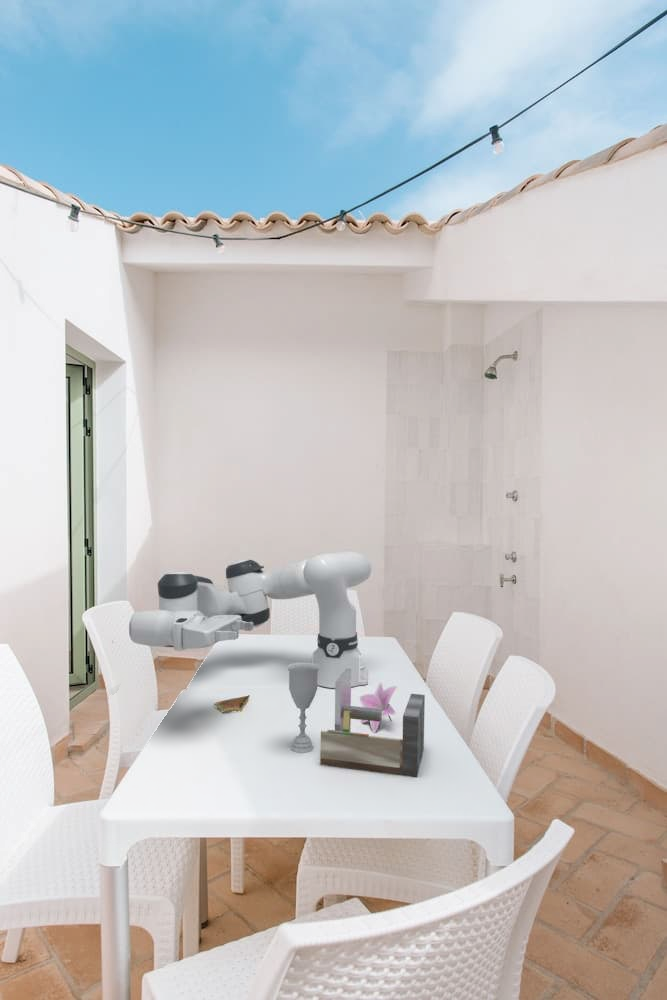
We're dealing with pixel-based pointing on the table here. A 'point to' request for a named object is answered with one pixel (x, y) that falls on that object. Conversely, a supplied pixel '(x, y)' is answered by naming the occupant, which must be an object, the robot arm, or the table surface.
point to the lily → (379, 703)
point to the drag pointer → (347, 721)
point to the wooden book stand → (379, 746)
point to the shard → (232, 704)
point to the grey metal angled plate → (345, 703)
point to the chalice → (303, 698)
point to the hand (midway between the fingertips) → (245, 630)
